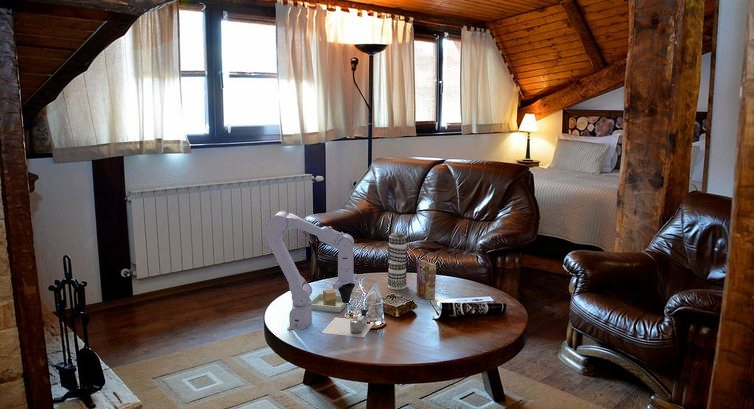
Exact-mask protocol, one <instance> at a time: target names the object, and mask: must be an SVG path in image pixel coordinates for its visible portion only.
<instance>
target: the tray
mask: <svg viewBox="0 0 754 409" xmlns="http://www.w3.org/2000/svg"><path fill="white" fill-rule="evenodd" d="M311 301H312V311H324V312H334V313H335V312H336V313H341V312H342V311H343V310H344V308H346V306H347V305H346V303H343V302H342V298H341V295H340V294H336V306H329V305H323V293H317V294H316V295H315V296H314V297H313V298H312V299H311Z"/></svg>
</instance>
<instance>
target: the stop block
mask: <svg viewBox="0 0 754 409" xmlns="http://www.w3.org/2000/svg"><path fill="white" fill-rule="evenodd" d="M322 294H323V305H329V306H336V295H337V292H336V291H335V289H333V288H330V289H322Z"/></svg>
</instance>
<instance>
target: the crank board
mask: <svg viewBox="0 0 754 409" xmlns="http://www.w3.org/2000/svg"><path fill="white" fill-rule="evenodd" d="M354 319H355V318H354ZM354 319H353V318H345V317H334V318H333V319H332V320H331V322H330V323H328V325H327V326H326V327H325V328H324V329H323V330H322V331H321V334H327V335H329V334H330V335H337V336H338V335H339V336H346V337H356V338H362V339H363V338H365V337H366V336H367V334H368V332H369V331H370V330H371V328H372V327H373V326H374V324H367V323H365V324H364V326H363V327H362V333H360V334H353V333H351V332H350V321H351V320H354Z"/></svg>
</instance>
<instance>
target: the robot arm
mask: <svg viewBox="0 0 754 409" xmlns="http://www.w3.org/2000/svg"><path fill="white" fill-rule="evenodd" d="M286 229H287V231H290V230H295V229H299V230H300V231H303V232H306V233H308V234H311V235H314V236H316V237H317V238H318V241H319V242H321V243H324V244H326V245H328V246H331V247H333V248H337V250H338V254H337V279H336V280H335V282H333V283H332V289H333V290H337V291H338V292H339V295H341V298H342V302H343V303H349V301H350V302H351V297H352V292H353V290H354V288H355V286H356V282H357V280H359V274H357V273H354V244H355V240H354V238H353V236H352V235H350V234H349V233H344V232H343V231H341V232H340V231H337V230H335V229H333V227H332V226H330V225H329V226H326V225H325V226H322V227H320V226H318V225H317V224H315V223H312V222H309V221H308V220H306V219H303V218H302V217H300V216H297V215H296V214H294V213H291V212H290V213H289V212H288V211H286V210H279V211H277V213H275V215H273V216H272V217H271V218H270V219H269V222H268V224H267V235H266V236H267V237H266V238H267V239H266V240H267V245H269V248H270V249H271V252H272V253H273V256H274V258H275V259H276V262H277V263H278V265H279V267H280V269H281V271H282V273H283V275H284V277H285V278H286V280H287V282H288V286H289V287H288V288H289V291H290V293H291V301H292V304H291V305H292V308H291V310H290V312H289V315H288V316H289V320H288V321H289V326H287V328H286V329H287V330H288V331H289V330H292V331H293V330H294V329H298V330H299V329H300V330H306V329H307V328H308V327H309V326H311V325H312V324H313V310H312V301H311V300H312V299H311V296H312V293H313V288H312V285H311V284H310V283H308V282H307V281H306V279H305V278H304V277H303V276H302V275H301V274H300V272H299V269H298V267H297V266H296V264H295V262H294V259H293V258H292V256H291V254H290V252H289V250H288V249H287V247H286V245H285V242H284V241H283V236H284V234H285V232H286Z"/></svg>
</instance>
